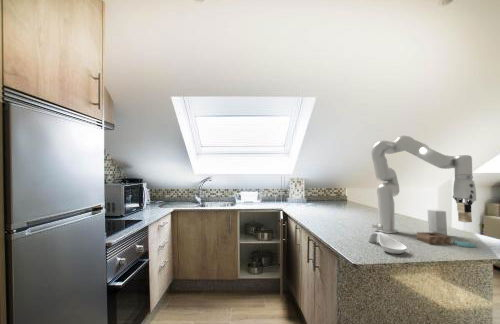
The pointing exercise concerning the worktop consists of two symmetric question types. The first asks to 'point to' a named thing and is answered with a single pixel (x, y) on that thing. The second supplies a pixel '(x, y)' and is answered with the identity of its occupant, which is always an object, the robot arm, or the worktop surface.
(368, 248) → the worktop surface
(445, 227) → the skincare box
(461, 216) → the maple peg
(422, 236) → the walnut socket block
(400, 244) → the spoon rest
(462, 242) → the teal rubber pad
